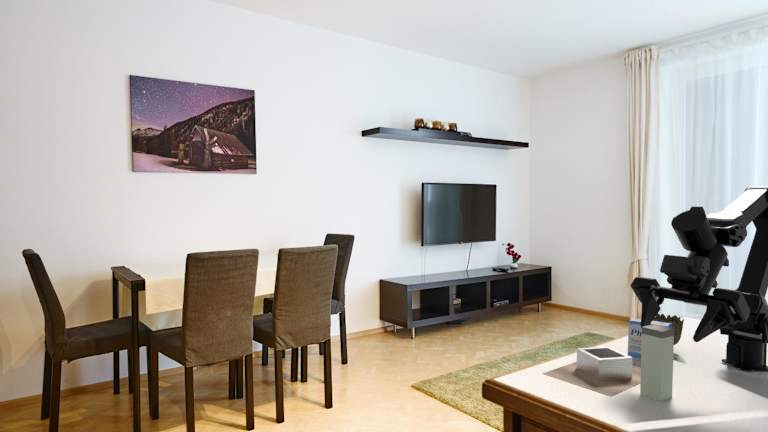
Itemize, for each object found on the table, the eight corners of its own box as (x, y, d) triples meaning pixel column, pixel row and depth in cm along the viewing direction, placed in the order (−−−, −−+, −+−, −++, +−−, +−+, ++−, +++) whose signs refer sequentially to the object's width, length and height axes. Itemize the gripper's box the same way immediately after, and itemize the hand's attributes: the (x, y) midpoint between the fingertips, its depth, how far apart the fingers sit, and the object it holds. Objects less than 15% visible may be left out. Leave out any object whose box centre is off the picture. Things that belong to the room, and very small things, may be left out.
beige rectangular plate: (597, 358, 110) (597, 354, 110) (664, 377, 99) (664, 372, 99) (542, 378, 98) (542, 373, 98) (610, 402, 87) (610, 396, 87)
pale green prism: (651, 395, 90) (653, 324, 89) (671, 402, 87) (673, 328, 86) (640, 399, 88) (641, 326, 87) (660, 407, 85) (662, 331, 84)
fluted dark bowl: (688, 356, 112) (689, 321, 111) (652, 354, 113) (653, 319, 113) (675, 347, 119) (676, 313, 119) (642, 345, 120) (643, 312, 120)
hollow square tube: (607, 365, 102) (608, 346, 102) (632, 378, 95) (632, 357, 95) (576, 368, 101) (576, 348, 101) (598, 380, 94) (599, 359, 94)
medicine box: (626, 359, 110) (627, 320, 110) (632, 354, 113) (633, 316, 113) (667, 367, 105) (668, 326, 104) (671, 361, 108) (672, 322, 108)
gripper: (637, 235, 99) (601, 296, 93) (744, 243, 83) (709, 317, 77) (658, 272, 103) (625, 332, 98) (764, 286, 87) (731, 359, 82)
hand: (667, 334), depth 88 cm, fingers open, 9 cm apart
